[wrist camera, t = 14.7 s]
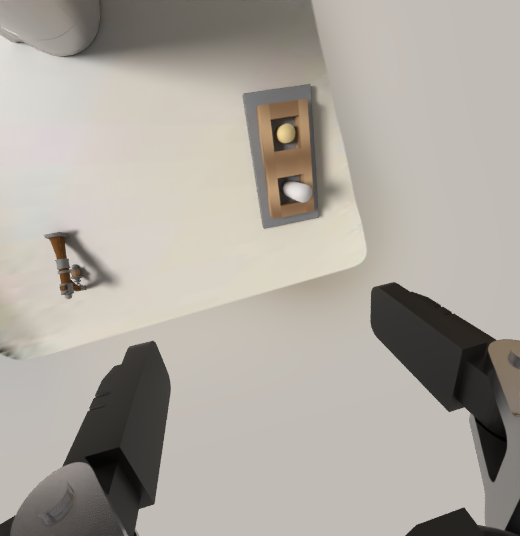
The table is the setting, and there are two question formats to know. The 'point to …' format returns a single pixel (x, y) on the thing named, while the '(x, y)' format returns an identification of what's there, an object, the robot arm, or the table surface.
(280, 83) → the table surface
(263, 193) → the base
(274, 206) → the holed bar
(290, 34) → the table surface
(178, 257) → the table surface
